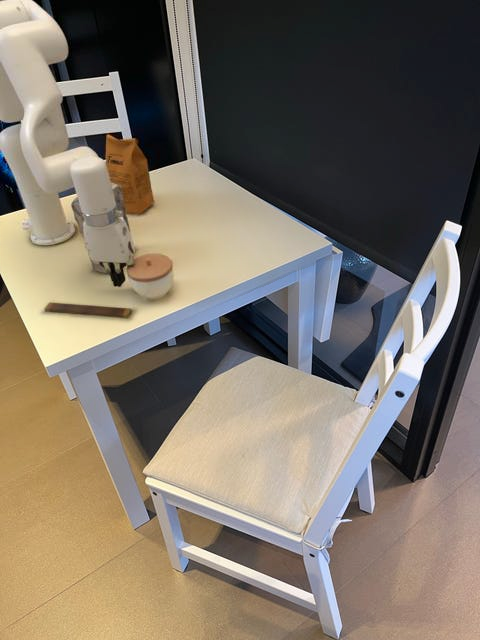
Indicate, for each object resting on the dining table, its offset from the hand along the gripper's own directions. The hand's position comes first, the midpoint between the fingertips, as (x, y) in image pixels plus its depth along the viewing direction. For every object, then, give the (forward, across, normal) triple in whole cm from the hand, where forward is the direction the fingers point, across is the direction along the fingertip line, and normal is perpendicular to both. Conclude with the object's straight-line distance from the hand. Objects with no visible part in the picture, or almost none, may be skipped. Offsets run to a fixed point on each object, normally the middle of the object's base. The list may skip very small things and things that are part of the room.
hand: (119, 283), depth 125 cm
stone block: (+3, +8, -13) cm, 16 cm away
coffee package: (+2, +14, -44) cm, 46 cm away
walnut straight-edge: (+2, +5, +8) cm, 10 cm away
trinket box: (+3, -8, -1) cm, 9 cm away
